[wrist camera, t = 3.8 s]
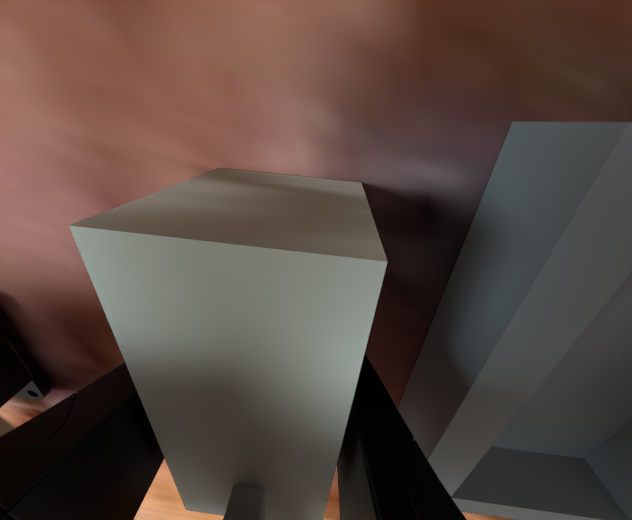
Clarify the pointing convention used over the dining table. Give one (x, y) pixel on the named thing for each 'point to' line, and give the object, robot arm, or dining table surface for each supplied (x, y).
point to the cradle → (537, 335)
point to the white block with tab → (242, 329)
